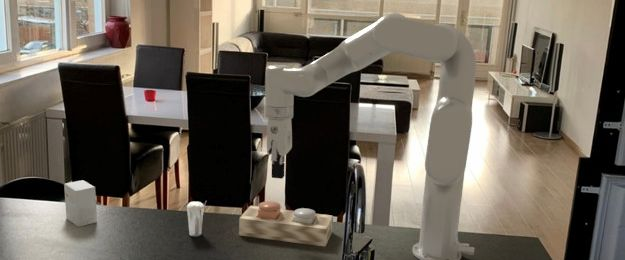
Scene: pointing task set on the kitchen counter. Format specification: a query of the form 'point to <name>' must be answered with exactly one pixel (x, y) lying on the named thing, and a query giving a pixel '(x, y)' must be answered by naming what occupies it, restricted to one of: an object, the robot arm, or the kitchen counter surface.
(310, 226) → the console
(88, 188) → the small box
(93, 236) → the kitchen counter surface
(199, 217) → the milkshake
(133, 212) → the kitchen counter surface
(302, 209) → the grey button
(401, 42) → the robot arm
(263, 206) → the terracotta button
